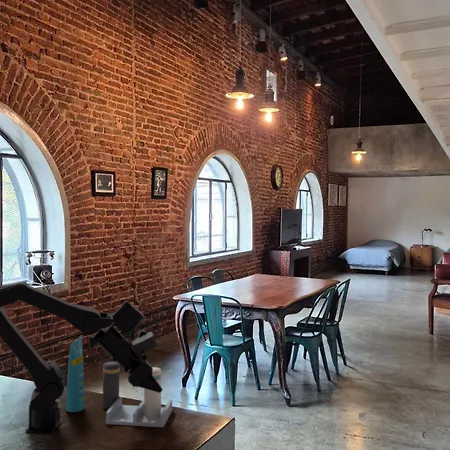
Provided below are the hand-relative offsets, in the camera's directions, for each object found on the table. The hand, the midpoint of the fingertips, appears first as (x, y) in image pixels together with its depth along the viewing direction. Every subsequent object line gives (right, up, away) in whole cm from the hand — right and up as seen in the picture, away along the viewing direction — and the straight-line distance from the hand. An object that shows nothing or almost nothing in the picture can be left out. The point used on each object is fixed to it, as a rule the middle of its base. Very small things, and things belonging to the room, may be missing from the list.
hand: (158, 385), depth 132 cm
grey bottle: (-14, -8, +7) cm, 18 cm away
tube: (-24, -8, +5) cm, 25 cm away
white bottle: (-2, -8, 0) cm, 8 cm away
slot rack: (-5, -8, 0) cm, 10 cm away
